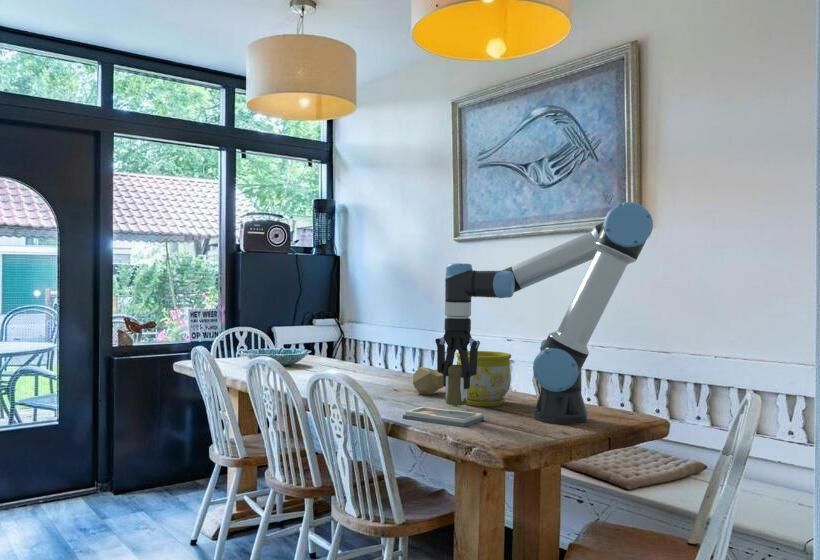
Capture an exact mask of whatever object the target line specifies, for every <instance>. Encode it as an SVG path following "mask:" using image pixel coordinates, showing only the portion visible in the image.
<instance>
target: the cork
mask: <svg viewBox="0 0 820 560" xmlns="http://www.w3.org/2000/svg"><path fill="white" fill-rule="evenodd" d="M448 374H449V376H450V378H449V385H448V392H447V398H446V397H445V399H446V400H445V404H446V405H448V406H449V405H450V406H466V405H468V404H467V401H466V398H464V401H462V399H461V390H460V383H461V377H462V376H463V372H462V366H461V365H458V364H452V365H450V366H449V368H448Z"/></svg>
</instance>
